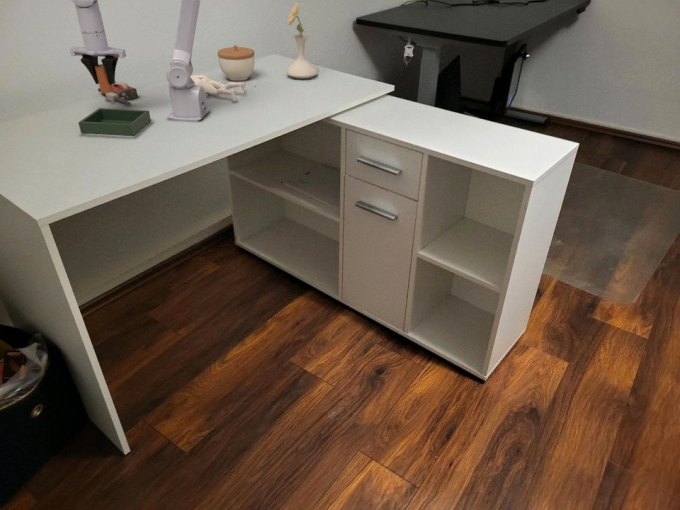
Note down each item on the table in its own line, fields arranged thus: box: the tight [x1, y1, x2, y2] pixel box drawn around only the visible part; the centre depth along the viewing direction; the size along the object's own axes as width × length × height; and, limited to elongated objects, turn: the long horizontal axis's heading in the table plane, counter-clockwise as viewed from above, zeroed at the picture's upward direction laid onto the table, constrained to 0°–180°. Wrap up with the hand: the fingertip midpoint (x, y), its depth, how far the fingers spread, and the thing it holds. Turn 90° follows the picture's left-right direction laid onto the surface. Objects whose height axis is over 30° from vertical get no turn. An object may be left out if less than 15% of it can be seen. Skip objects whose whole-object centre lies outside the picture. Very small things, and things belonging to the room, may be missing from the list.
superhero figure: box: [190, 73, 248, 103], centre depth 169 cm, size 12×6×25 cm
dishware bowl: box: [217, 44, 255, 82], centre depth 182 cm, size 13×13×11 cm
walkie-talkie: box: [97, 80, 139, 106], centre depth 164 cm, size 9×4×20 cm
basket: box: [77, 107, 152, 137], centre depth 143 cm, size 15×12×4 cm
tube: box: [95, 63, 114, 94], centre depth 144 cm, size 3×3×7 cm
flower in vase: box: [285, 2, 318, 79], centre depth 181 cm, size 13×11×25 cm
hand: (105, 83), depth 145 cm, fingers closed on tube, 3 cm apart
